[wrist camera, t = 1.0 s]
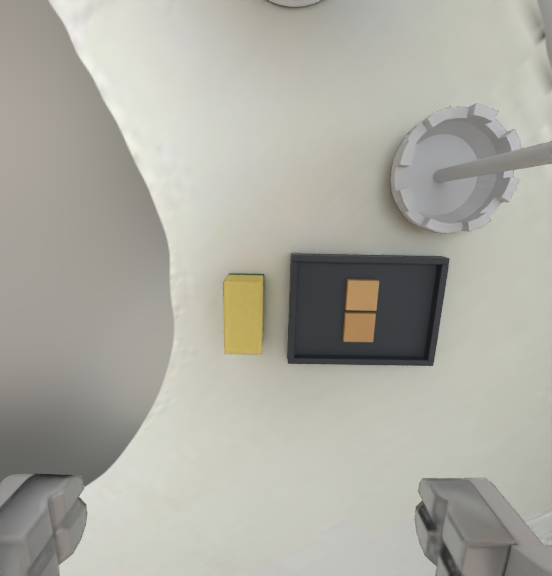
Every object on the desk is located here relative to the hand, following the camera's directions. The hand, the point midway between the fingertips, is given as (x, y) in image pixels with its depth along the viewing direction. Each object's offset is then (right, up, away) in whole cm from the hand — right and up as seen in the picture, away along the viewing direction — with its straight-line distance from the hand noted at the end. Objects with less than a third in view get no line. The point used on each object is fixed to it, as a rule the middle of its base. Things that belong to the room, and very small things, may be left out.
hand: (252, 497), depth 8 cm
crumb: (+12, 0, +35) cm, 36 cm away
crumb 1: (+12, +4, +34) cm, 36 cm away
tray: (+12, +2, +35) cm, 37 cm away
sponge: (-3, +3, +34) cm, 35 cm away
